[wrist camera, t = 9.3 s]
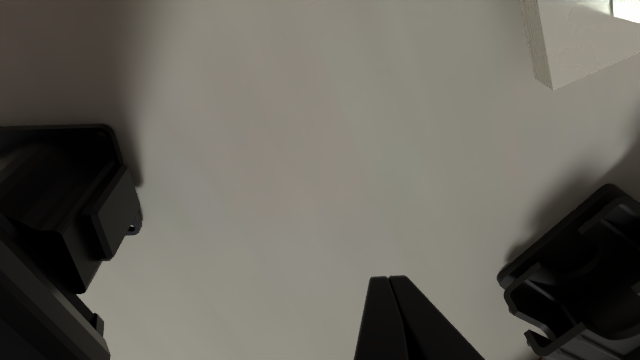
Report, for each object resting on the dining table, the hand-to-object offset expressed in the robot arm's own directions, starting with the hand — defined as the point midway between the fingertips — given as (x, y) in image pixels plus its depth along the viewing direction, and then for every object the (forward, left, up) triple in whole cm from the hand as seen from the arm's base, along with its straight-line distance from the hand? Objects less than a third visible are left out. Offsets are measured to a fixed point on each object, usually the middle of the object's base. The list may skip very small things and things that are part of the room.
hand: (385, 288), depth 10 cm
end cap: (+16, -11, -12) cm, 23 cm away
